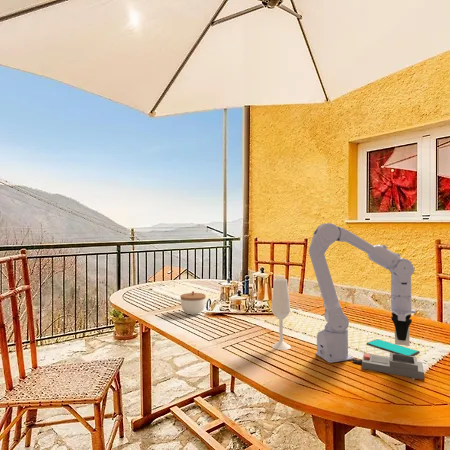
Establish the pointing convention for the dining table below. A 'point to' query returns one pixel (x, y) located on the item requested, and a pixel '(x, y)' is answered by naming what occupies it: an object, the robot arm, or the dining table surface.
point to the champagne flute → (280, 308)
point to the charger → (401, 340)
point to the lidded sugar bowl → (193, 302)
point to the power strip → (393, 364)
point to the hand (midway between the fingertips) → (401, 337)
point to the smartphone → (392, 347)
